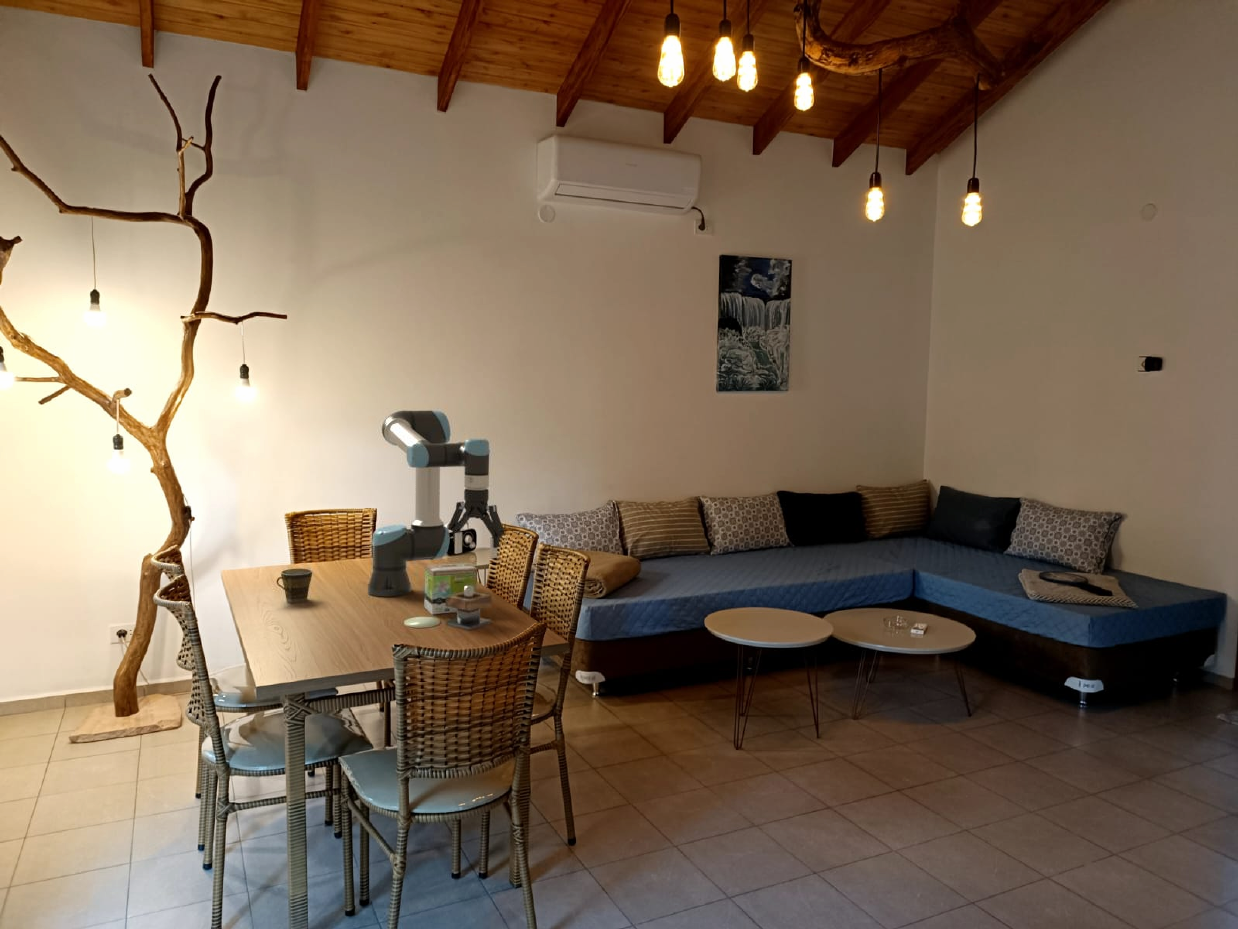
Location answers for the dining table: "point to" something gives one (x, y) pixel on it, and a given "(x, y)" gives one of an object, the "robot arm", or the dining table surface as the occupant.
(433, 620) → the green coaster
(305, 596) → the ceramic cup
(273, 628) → the dining table surface
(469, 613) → the peg stand
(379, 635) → the dining table surface
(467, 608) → the walnut link
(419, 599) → the dining table surface
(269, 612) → the dining table surface
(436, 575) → the tea box
